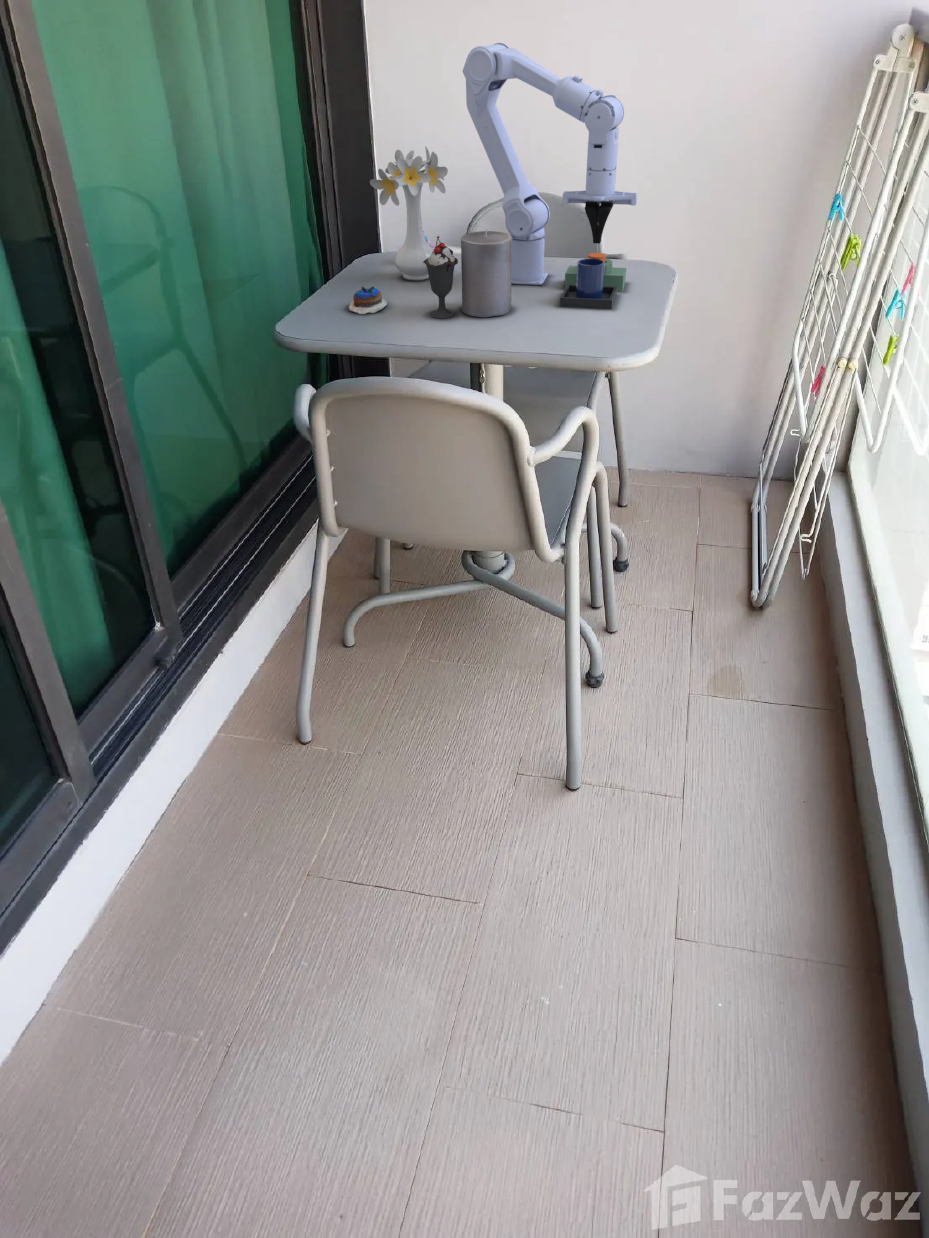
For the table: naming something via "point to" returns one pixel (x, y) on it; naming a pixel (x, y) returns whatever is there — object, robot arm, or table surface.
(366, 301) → the dessert
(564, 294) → the tray
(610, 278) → the green button base
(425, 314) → the table surface
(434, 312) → the sundae
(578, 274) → the cup
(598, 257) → the button
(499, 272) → the pillar candle
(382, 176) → the flower vase
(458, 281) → the table surface
